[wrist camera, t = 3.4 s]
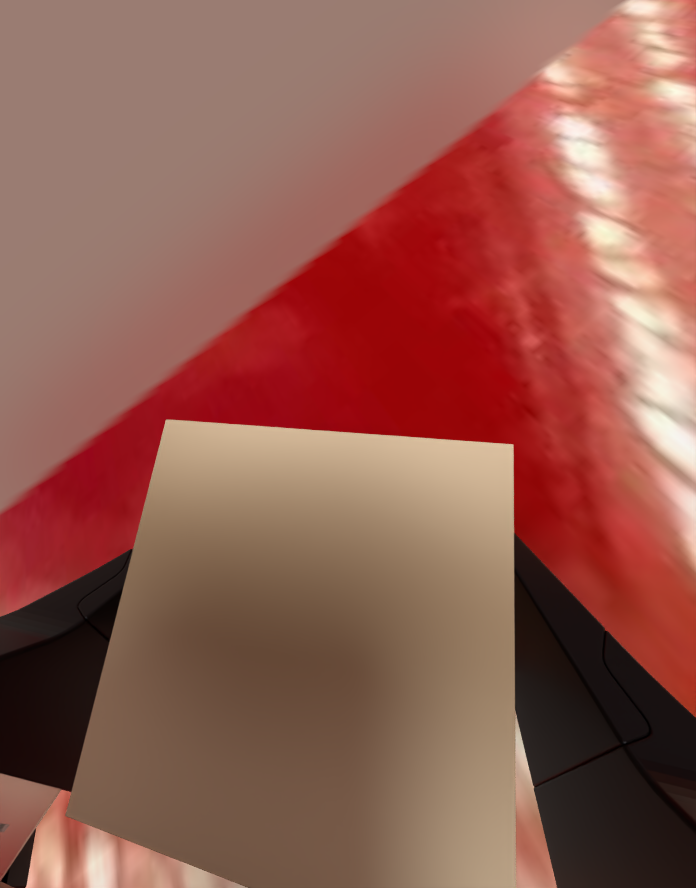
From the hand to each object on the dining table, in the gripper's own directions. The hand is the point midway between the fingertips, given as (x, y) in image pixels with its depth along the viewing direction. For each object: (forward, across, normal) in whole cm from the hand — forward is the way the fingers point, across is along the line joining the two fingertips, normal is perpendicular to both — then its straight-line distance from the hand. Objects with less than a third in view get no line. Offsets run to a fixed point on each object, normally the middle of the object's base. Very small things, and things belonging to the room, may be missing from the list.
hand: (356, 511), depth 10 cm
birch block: (+4, 0, +6) cm, 7 cm away
